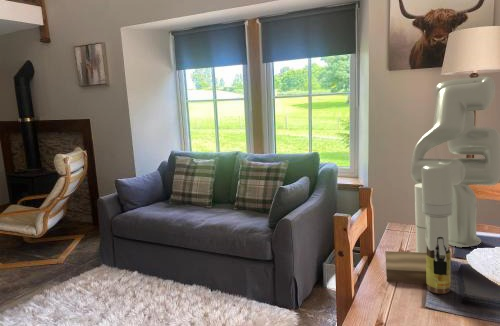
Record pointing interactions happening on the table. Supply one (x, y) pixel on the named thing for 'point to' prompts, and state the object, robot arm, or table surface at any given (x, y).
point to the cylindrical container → (420, 221)
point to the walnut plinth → (406, 267)
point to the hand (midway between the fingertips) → (438, 267)
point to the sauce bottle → (437, 281)
